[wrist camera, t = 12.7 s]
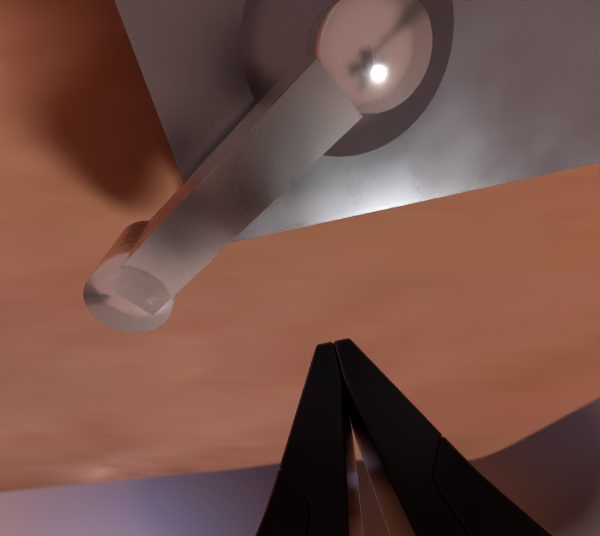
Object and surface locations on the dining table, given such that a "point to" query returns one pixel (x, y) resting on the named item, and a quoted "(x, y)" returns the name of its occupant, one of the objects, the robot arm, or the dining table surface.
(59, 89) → the dining table surface
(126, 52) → the dining table surface
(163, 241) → the silver lever handle
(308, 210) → the plate
